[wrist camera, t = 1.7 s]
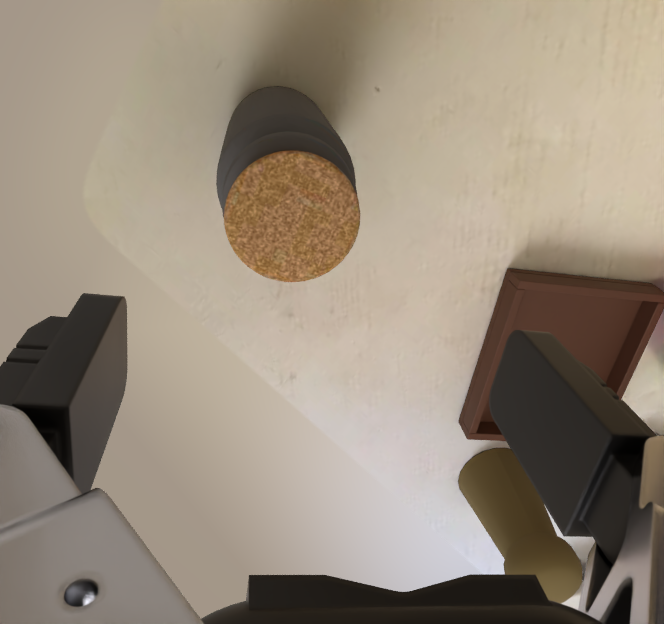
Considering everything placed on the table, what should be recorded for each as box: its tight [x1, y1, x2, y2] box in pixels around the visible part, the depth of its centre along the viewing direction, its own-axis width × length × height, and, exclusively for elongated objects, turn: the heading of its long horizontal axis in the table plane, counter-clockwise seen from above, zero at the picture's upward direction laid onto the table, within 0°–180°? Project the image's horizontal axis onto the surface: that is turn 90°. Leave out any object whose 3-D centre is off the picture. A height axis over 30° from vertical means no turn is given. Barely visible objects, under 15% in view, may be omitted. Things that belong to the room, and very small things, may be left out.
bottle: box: [216, 86, 360, 282], centre depth 26 cm, size 6×6×15 cm
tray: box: [459, 269, 664, 441], centre depth 41 cm, size 13×11×2 cm
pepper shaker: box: [458, 448, 582, 604], centre depth 42 cm, size 6×6×11 cm
